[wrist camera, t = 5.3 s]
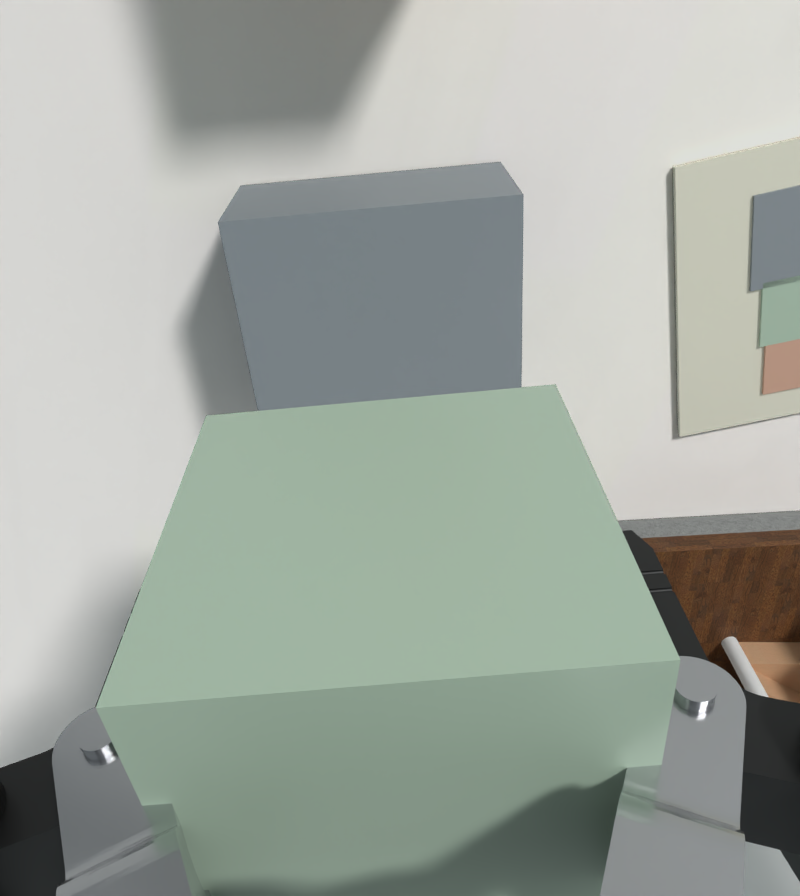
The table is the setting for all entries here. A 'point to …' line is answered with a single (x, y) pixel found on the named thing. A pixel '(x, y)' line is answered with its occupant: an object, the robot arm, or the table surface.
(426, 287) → the base brick
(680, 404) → the page
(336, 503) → the brick sage
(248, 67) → the table surface
